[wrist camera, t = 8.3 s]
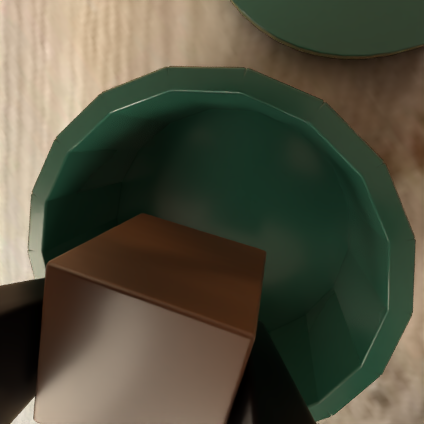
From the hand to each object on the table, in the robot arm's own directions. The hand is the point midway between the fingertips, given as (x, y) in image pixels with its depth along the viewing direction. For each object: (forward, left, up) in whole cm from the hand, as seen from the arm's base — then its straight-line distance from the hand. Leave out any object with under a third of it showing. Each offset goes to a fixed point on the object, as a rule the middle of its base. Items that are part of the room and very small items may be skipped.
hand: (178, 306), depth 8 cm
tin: (0, 0, -8) cm, 8 cm away
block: (0, 0, -1) cm, 1 cm away
